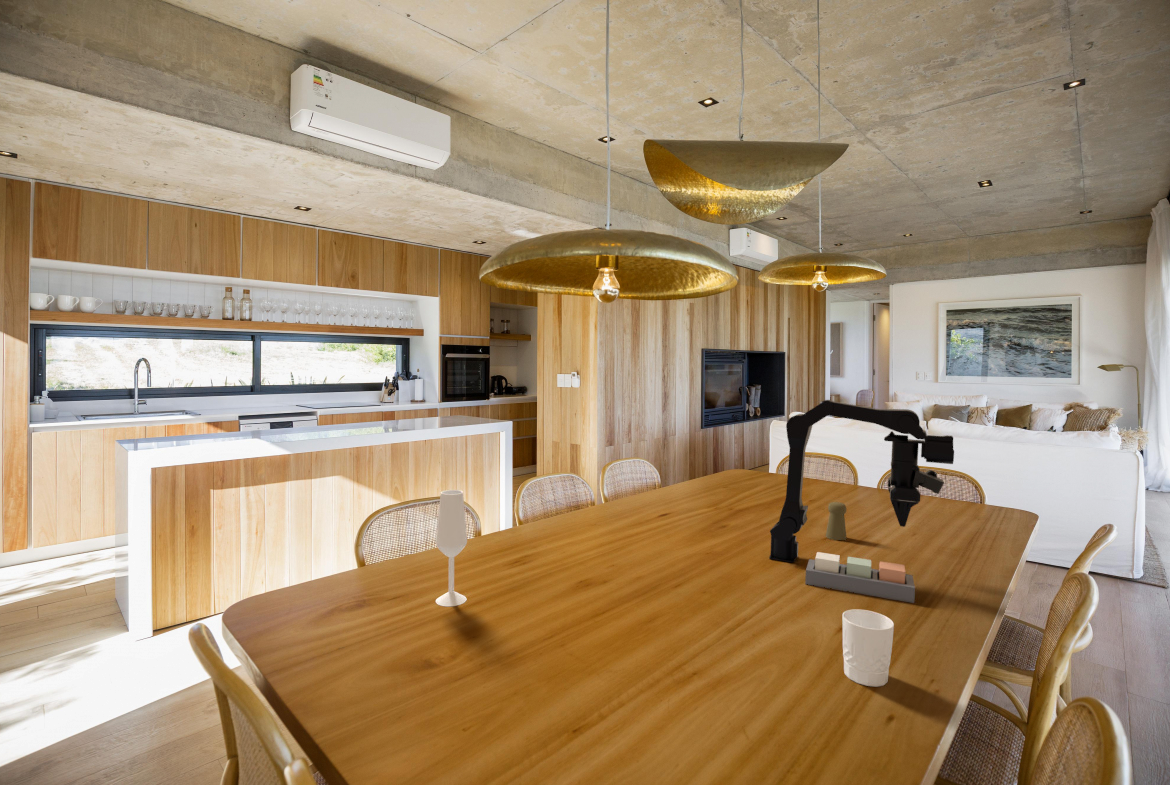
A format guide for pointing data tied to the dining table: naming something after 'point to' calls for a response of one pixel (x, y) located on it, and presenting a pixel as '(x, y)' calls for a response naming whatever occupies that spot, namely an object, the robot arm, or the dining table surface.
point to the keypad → (861, 583)
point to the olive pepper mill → (836, 521)
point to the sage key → (859, 567)
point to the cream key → (827, 562)
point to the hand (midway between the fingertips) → (901, 521)
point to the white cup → (867, 646)
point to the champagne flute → (451, 538)
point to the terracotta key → (892, 572)
